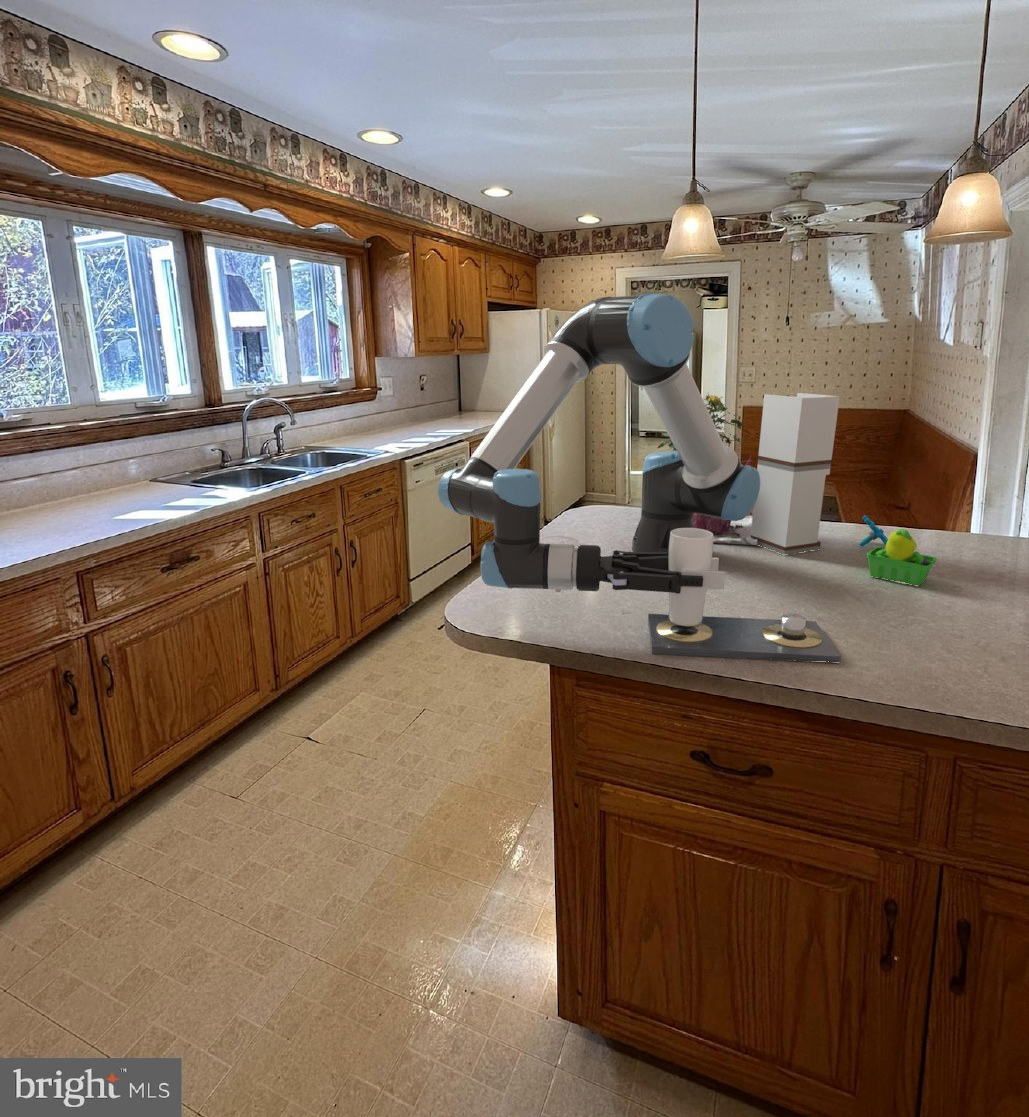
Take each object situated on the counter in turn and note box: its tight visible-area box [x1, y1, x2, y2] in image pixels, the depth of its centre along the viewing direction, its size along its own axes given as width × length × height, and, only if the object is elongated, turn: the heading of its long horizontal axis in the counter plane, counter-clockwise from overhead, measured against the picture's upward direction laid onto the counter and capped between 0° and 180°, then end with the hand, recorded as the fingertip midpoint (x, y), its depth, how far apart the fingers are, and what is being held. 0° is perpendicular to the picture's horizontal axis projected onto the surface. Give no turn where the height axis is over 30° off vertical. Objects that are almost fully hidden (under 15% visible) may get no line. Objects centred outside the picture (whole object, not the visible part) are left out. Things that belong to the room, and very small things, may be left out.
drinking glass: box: [668, 528, 714, 626], centre depth 113 cm, size 7×7×15 cm
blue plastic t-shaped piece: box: [858, 514, 889, 547], centre depth 166 cm, size 11×6×10 cm
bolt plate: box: [647, 613, 842, 663], centre depth 115 cm, size 28×14×4 cm, turn 82°
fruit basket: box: [866, 528, 937, 586], centre depth 142 cm, size 11×9×11 cm
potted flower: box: [656, 393, 757, 546], centre depth 177 cm, size 27×25×35 cm
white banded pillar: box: [751, 392, 840, 555], centre depth 162 cm, size 11×11×35 cm
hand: (720, 573), depth 112 cm, fingers closed on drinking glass, 6 cm apart
